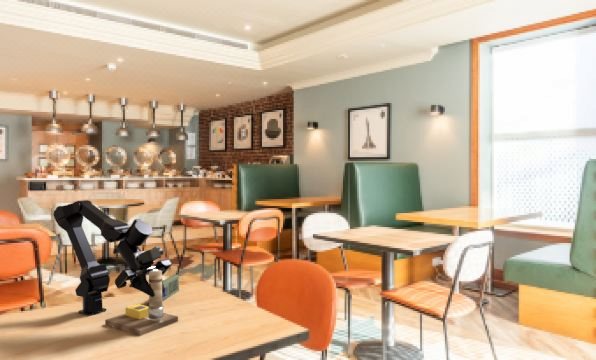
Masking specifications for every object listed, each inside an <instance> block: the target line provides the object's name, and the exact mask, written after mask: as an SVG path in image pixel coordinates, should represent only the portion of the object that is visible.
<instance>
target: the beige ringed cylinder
mask: <svg viewBox="0 0 596 360" xmlns="http://www.w3.org/2000/svg"><path fill="white" fill-rule="evenodd" d="M162 281H163V275H162V271H161V270H153V271H149V275H148V283H149V285H150V286H151V288H152V290H153V291H154V293H155V296H154V297H151V296H149V295H148V298H149V299H148V303H149V307H148V318H149V319H159V318H162V317H163V313H164V305H163V301H162Z"/></svg>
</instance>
